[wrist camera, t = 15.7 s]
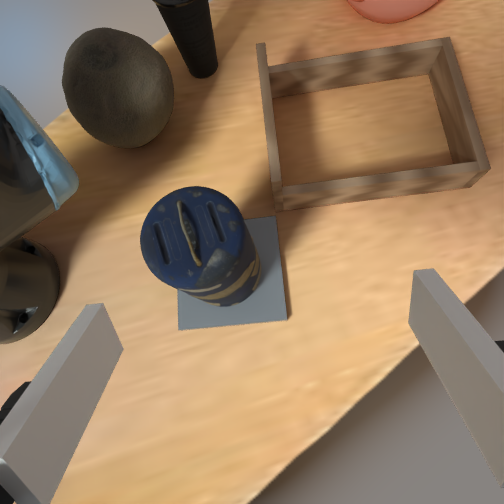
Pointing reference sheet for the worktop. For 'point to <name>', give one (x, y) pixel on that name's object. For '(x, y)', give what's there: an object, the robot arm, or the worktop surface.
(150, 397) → the worktop surface
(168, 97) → the kiwi fruit
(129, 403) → the worktop surface
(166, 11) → the drinking cup
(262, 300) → the slate tile
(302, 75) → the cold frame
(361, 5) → the teapot
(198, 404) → the worktop surface
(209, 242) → the canister
